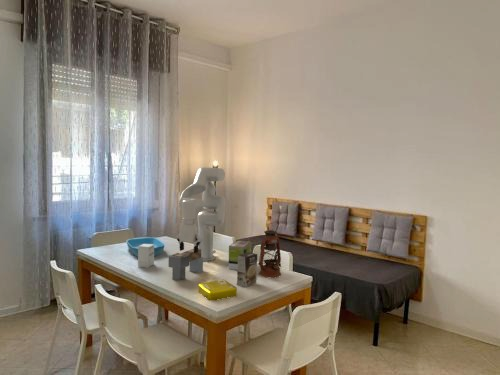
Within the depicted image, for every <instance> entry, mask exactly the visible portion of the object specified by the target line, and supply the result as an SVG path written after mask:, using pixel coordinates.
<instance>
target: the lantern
mask: <svg viewBox="0 0 500 375" xmlns="http://www.w3.org/2000/svg"><path fill="white" fill-rule="evenodd" d="M270 225H273V223H272V222H270V223H269V224H268V227H267V230H264V231H263V233H264V234H265V235H264V238H263V240H262V242H261V244H260V253H259V254H260V255H259V258H258V262H257V266H259V268H260V271H259V273H258V275H259V276H260V277H263V278H267V277H271V278H270V279H274V278H275V277H276V278H280V277H282V273H281V268H282V264H281V262H282V260H281V259H282V257H281V249H280V248H281V247H280V246H281V245H280V238H279V237H278V236H277V234H278V233H277V231H275V230H274V229H271V230H270V229H269V226H270ZM265 250H266V251H265ZM270 252H273V254H272V253H270ZM265 255H267V257H269V259H265ZM268 255H270V256H271V257H270V256H268ZM279 276H280V277H279Z"/></svg>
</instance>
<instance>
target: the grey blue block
mask: <svg viewBox="0 0 500 375" xmlns="http://www.w3.org/2000/svg"><path fill="white" fill-rule="evenodd" d="M203 270H204V261H203V257H200V258H198V259H195V260H193V261H191V262H189V272H192V273H197V274H199V273H201V272H203Z"/></svg>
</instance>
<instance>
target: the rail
mask: <svg viewBox="0 0 500 375" xmlns="http://www.w3.org/2000/svg"><path fill="white" fill-rule="evenodd" d="M185 255H190V258H189V263H190V262H191V261H193V260H195V259H198V258H200V257H201V249H199V248H198V252H197V253H194V248H191V249H189V250H186V251H183V252H181V253H180V254H177V255H175V256H176V257H182V256H185Z"/></svg>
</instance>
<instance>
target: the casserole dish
mask: <svg viewBox="0 0 500 375" xmlns="http://www.w3.org/2000/svg"><path fill="white" fill-rule="evenodd" d="M126 244H127V247H128V249H129V251H130V252H131V253H132V254H133V255H134V256H136V257H137V258H138V246H140V245H142V244H154V257H155V256H160V255H161V254H162V253H163V251H164V248H165V246H166V244H165V243H164V242H163V241H161V240H160V239H159V238H157V237H151V236H150V237H143V236H142V237H134V238H128V239H126Z"/></svg>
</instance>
